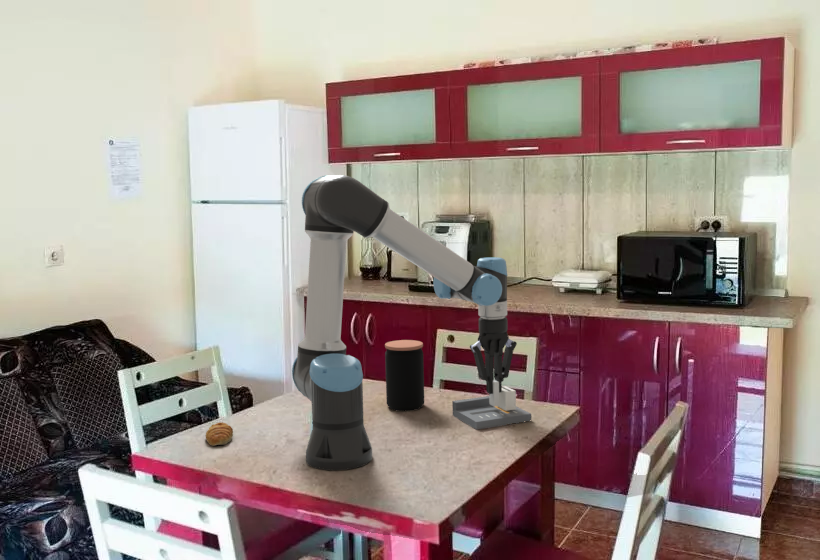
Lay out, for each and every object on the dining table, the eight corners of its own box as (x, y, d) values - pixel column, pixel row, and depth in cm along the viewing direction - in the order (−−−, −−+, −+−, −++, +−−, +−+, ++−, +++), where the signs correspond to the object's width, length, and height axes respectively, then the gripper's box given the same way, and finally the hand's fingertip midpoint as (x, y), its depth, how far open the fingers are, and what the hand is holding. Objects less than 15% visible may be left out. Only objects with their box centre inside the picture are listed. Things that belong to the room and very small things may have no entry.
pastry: (233, 446, 199) (232, 431, 199) (205, 449, 198) (203, 433, 198) (233, 434, 209) (232, 420, 208) (206, 437, 207) (205, 422, 207)
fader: (505, 410, 215) (505, 391, 214) (495, 405, 220) (495, 386, 219) (515, 409, 216) (515, 390, 215) (505, 404, 221) (505, 385, 220)
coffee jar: (426, 401, 235) (424, 339, 232) (422, 412, 224) (421, 347, 222) (389, 401, 236) (387, 339, 233) (384, 411, 225) (382, 347, 223)
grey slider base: (476, 429, 207) (475, 414, 207) (452, 415, 220) (452, 401, 219) (531, 421, 213) (531, 406, 213) (505, 407, 226) (505, 393, 225)
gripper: (477, 321, 208) (478, 411, 211) (522, 316, 212) (523, 405, 215) (464, 317, 215) (465, 404, 217) (507, 312, 219) (509, 398, 222)
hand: (494, 404), depth 216 cm, fingers closed
